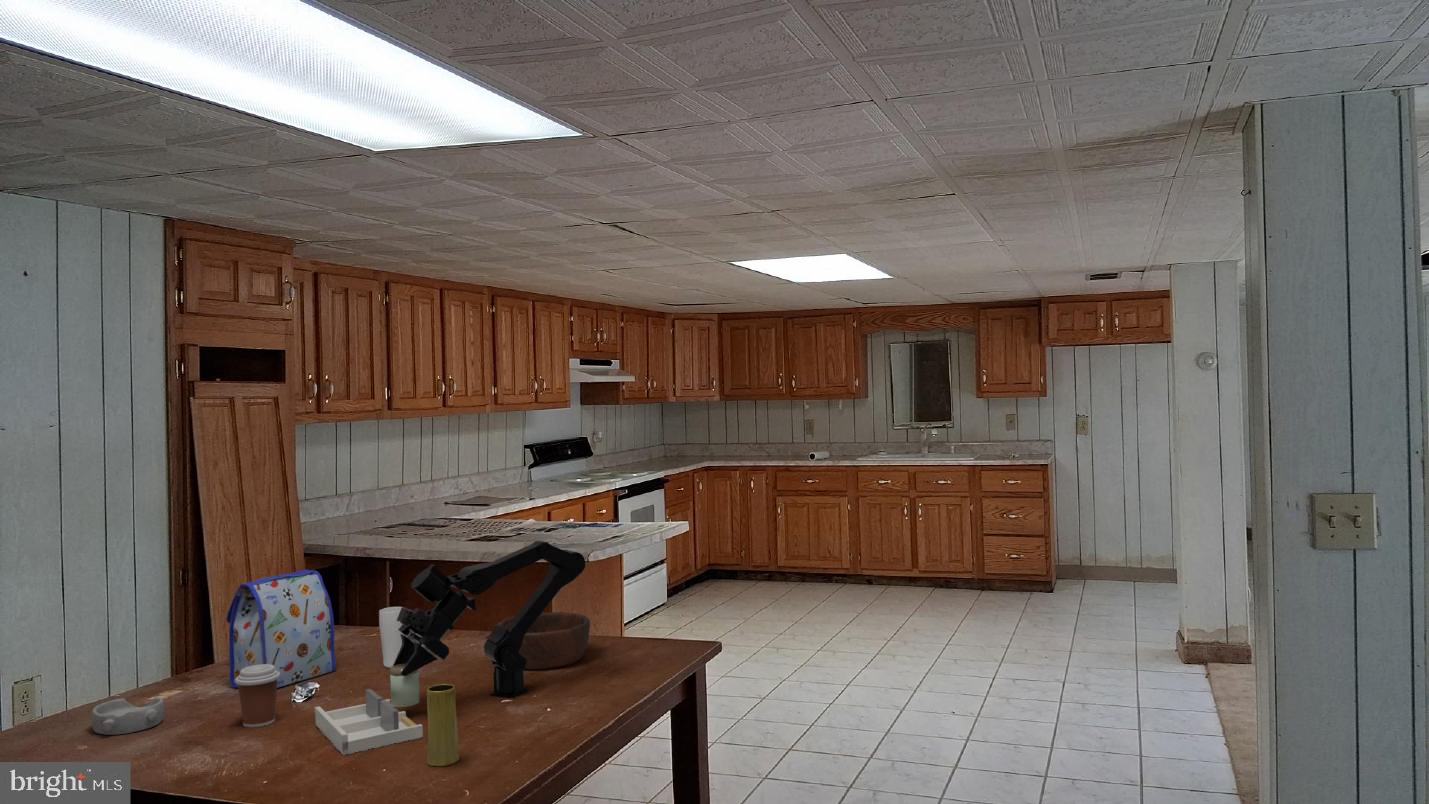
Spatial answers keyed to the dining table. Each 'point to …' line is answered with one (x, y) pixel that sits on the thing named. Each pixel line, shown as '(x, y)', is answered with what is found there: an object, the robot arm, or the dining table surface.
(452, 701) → the vase
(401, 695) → the sage jar
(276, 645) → the lunch bag
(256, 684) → the coffee cup
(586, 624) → the wooden bowl
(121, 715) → the dish
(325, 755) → the dining table surface
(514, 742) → the dining table surface
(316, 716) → the white divided tray
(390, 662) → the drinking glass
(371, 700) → the plate
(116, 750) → the dining table surface
